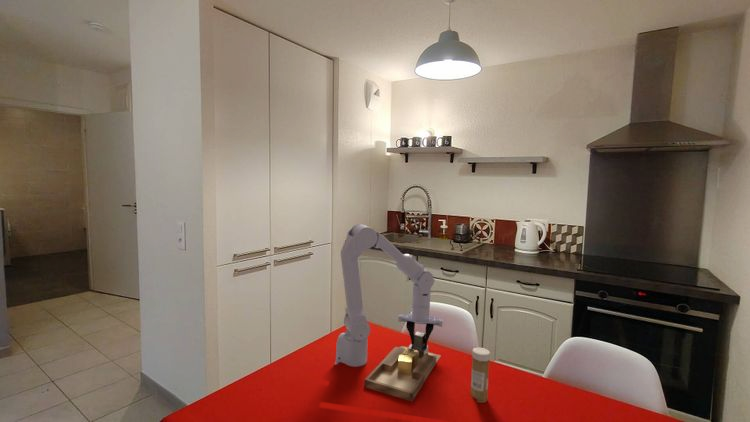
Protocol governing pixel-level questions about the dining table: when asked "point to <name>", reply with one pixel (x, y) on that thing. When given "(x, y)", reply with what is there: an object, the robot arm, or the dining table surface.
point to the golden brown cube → (405, 364)
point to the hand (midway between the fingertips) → (419, 344)
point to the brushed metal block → (419, 344)
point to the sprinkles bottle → (480, 374)
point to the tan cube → (412, 353)
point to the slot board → (400, 375)
